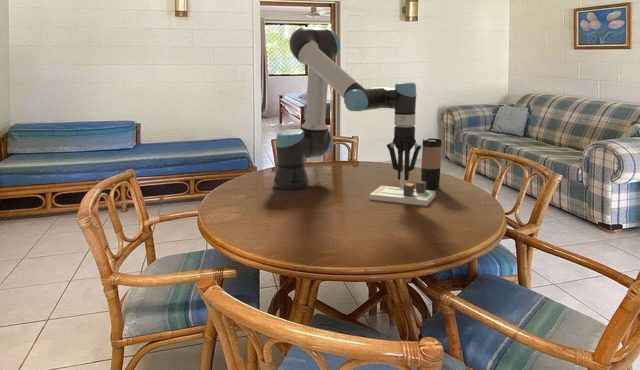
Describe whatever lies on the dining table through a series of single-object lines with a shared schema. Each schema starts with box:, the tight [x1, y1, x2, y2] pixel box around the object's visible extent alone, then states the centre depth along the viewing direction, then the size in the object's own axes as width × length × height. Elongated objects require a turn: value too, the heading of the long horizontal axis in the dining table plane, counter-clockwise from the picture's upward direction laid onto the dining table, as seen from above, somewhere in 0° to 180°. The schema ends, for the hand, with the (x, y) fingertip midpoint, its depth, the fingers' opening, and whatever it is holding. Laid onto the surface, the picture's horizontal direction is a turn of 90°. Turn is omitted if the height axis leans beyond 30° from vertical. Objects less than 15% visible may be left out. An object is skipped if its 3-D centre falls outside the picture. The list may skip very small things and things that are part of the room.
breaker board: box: [369, 180, 437, 207], centre depth 187 cm, size 22×14×6 cm, turn 64°
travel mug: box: [420, 137, 442, 191], centre depth 199 cm, size 8×8×20 cm
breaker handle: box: [404, 182, 415, 196], centre depth 182 cm, size 3×4×4 cm
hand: (403, 188), depth 183 cm, fingers closed
